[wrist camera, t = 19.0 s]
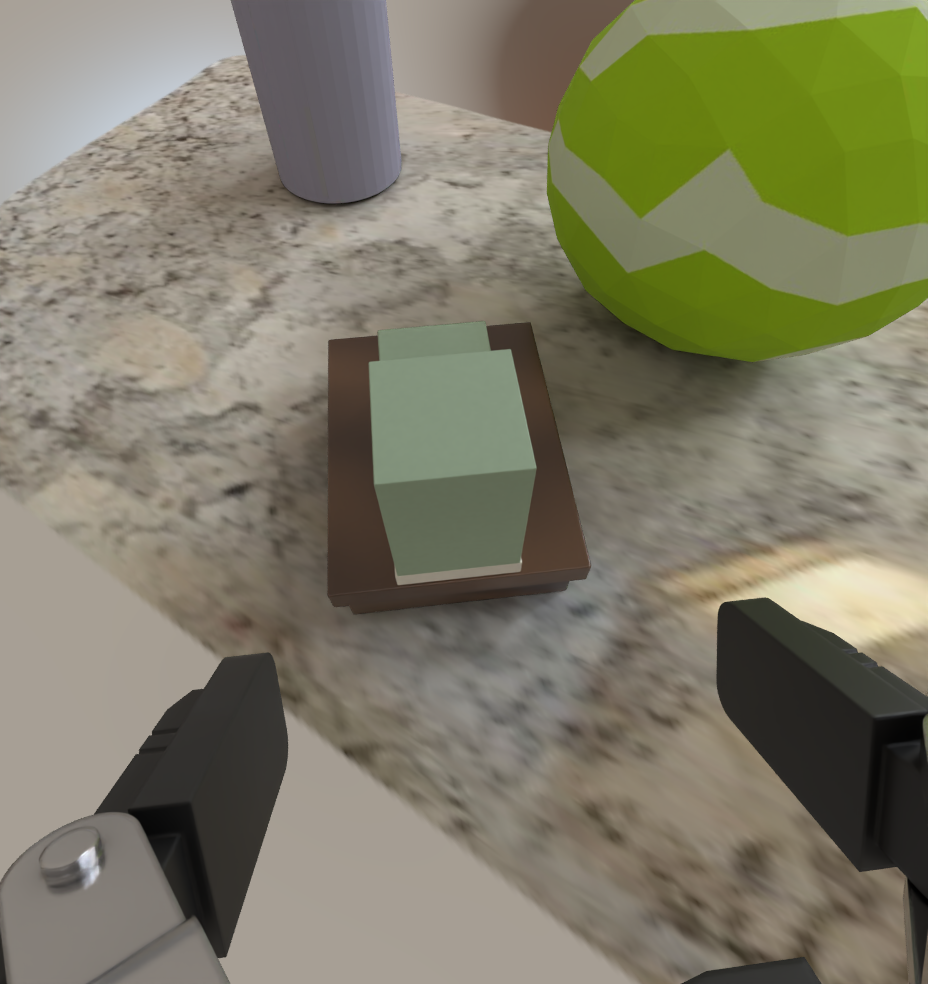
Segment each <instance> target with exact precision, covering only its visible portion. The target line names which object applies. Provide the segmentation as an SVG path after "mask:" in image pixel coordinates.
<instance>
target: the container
mask: <svg viewBox="0 0 928 984" xmlns="http://www.w3.org/2000/svg"><path fill="white" fill-rule="evenodd" d="M231 3H232V6H233V10H234V14H235V17H236V21H237V24H238V28H239V32H240V35H241V38H242V42H243V46H244V50H245V53H246V57H247V60H248V64H249V68H250V71H251V75H252V78H253V82H254V86H255V89H256V93H257V96H258V100H259V104H260V107H261V111H262V114H263V118H264V122H265V125H266V129H267V132H268V136H269V140H270V143H271V147H272V150H273V154H274V158H275V161H276V165H277V168H278V172H279V176H280V179H281V181H282V183H283V185H284V186H285V187H286V188H287V189H288V190H289V191H290V192H292V193H293V194H295V195H297V196H299V197H301V198H304V199H306V200H311V201H315V202H321V203H347V202H354V201H358V200H362V199H366V198H368V197H371V196H373V195H376V194H378V193H380V192H381V191H383V190H384V189H386V188H387V187H389V186H390V185H391V184H392V183H393V182H394V181H395V180H396V178H397V177H398V176H399V173H400V171H401V152H400V142H399V132H398V121H397V111H396V100H395V90H394V80H393V69H392V59H391V49H390V38H389V28H388V17H387V7H386V0H231Z"/></svg>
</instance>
